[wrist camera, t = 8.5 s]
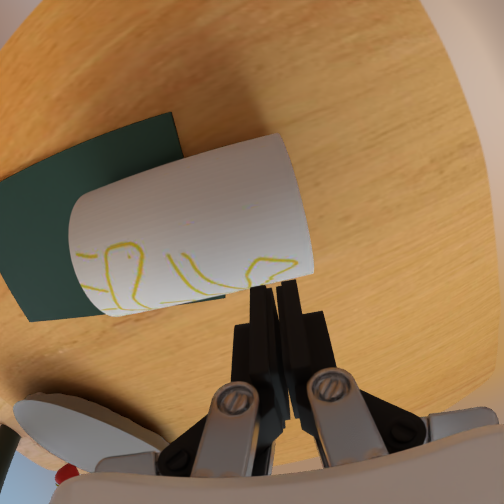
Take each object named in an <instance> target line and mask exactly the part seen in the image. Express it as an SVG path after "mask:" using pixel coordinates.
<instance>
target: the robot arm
mask: <svg viewBox="0 0 504 504" xmlns="http://www.w3.org/2000/svg"><path fill="white" fill-rule="evenodd" d="M281 285H282V286H278V287H276V292H277V302H278V313H279V319H278V314H277V309H276V305H275V300H274V296H273V291H272V288H266V286H265V285H260V286H254V287H250V323H246V324H239V325H235V327H234V340H233V355H232V370H231V382H230V383H228V384H225V385H224V386H222V387H220V388H219V389H218V390H217V391H216V393H215V394H214V396H213V398H212V401H211V405H210V409H209V412H208V414H207V415H206V416H205V417H203V418H202V419H201V420H200V421H199V422H197V423H196V424H195V425H194V426H192V427H191V428H190V429H189V430H187V431H186V432H185V433H184V434H182V435H181V436H180V437H178V438H177V439H176V440H175V441H173V442H172V443H171V444H169V445H168V446H167V447H166V448H165V449H164V450H163V451H162V452H155V451H154V450H153V451H147V452H140V453H134V454H126V455H118V456H109V457H106V458H103V459H102V460H100V461H99V462H98V464H97V465H96V467H95V471H94V473H87V474H82V475H78V476H75V477H72V478H69V479H67V480H65V481H64V482H62V483H61V484H60V485H59V486H58V487H57V488H56V490H55V491H54V494H53V495H52V497H51V500H50V503H49V504H504V424H499V421H498V418H497V415H496V413H495V412H494V411H493V410H492V409H490V408H487V407H475V408H469V409H464V410H456V411H449V412H441V413H432V414H429V415H428V416H427V417H418V416H417V415H415V414H413V413H411V412H408V411H406V410H404V409H401V408H399V407H397V406H395V405H392V404H390V403H388V402H386V401H384V400H382V399H379V398H377V397H375V396H373V395H371V394H369V393H366V392H364V391H362V390H360V389H359V388H358V386H357V384H356V382H355V379H354V378H353V376H352V375H351V374H350V373H349V372H347V371H346V370H344V369H341V368H337V367H336V362H335V358H334V354H333V350H332V346H331V342H330V337H329V333H328V329H327V325H326V321H325V318H324V314H323V311H318V312H313V313H307V314H302V310H301V304H300V299H299V294H298V288H297V283H296V279H294V280H289V281H283V282H281ZM288 390H289V395H290V399H291V403H292V407H293V412H294V416H295V419H297V418H300V422H301V427H302V430H304V431H306V432H307V433H309V434H310V435H312V436H314V441H315V444H316V447H317V450H318V454H319V457H320V460H321V463H322V466H323V469H319V470H312V471H304V472H298V473H289V474H279V475H271V473H272V466H273V459H274V452H275V445H276V443H275V439H276V438H277V437H278V436H279V435H280V434H281V433H282V432H283V429H284V428H285V420H290V407H289V395H288Z"/></svg>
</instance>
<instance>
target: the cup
mask: <svg viewBox="0 0 504 504" xmlns="http://www.w3.org/2000/svg"><path fill="white" fill-rule="evenodd" d="M69 249H70V255H71V260H72V264H73V267H74V270H75V273H76V276H77V278H78V280H79V283H80V285H81V287H82V289H83V290H84V292H85V294H86V295H87V297H88V298H89V299H90V301H91V302H92V303H93V304H94V305H95V306H96V307H97V308H98V309H99V310H100V311H102V312H103V313H105V314H107V315H109V316H113V317H119V316H124V315H129V314H134V313H139V312H144V311H149V310H154V309H159V308H164V307H169V306H173V305H178V304H183V303H188V302H192V301H197V300H201V299H206V298H210V297H215V296H219V295H224V294H228V293H233V292H237V291H242V290H246V289H250V287H254V286H260V285H267V284H272V283H276V282H280V281H284V280H288V279H292V278H296V277H301V276H305V275H309V274H313V273H314V262H313V254H312V247H311V241H310V236H309V230H308V225H307V221H306V216H305V212H304V208H303V203H302V199H301V196H300V192H299V188H298V184H297V181H296V177H295V174H294V171H293V167H292V164H291V161H290V158H289V155H288V153H287V150H286V147H285V145H284V142H283V140H282V138H281V136H280V134H279V133H275V134H271V135H267V136H263V137H259V138H255V139H251V140H247V141H243V142H239V143H235V144H232V145H228V146H224V147H221V148H217V149H214V150H210V151H207V152H203V153H200V154H197V155H193V156H190V157H187V158H183V159H180V160H177V161H174V162H171V163H168V164H165V165H162V166H159V167H156V168H153V169H150V170H147V171H144V172H141V173H138V174H135V175H133V176H130V177H127V178H124V179H122V180H119V181H116V182H114V183H111V184H108V185H106V186H103V187H101V188H98V189H96V190H93V191H91V192H88V193H86V194H84V195H82V196H81V197H80V198H79V199H78V200H77V202H76V203H75V205H74V207H73V210H72V213H71V216H70V221H69Z"/></svg>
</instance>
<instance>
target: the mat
mask: <svg viewBox="0 0 504 504" xmlns="http://www.w3.org/2000/svg"><path fill="white" fill-rule="evenodd" d="M183 158H184V156H183V153H182V149H181V146H180V142H179V138H178V135H177V131H176V127H175V123H174V120H173V116H172V112H168V113H165V114H162V115H158V116H155V117H152V118H149V119H146V120H143V121H140V122H137V123H134V124H131V125H128V126H125V127H122V128H119V129H117V130H114V131H111V132H108V133H106V134H103V135H101V136H98V137H95V138H93V139H90V140H88V141H85V142H83V143H80V144H78V145H76V146H73V147H71V148H69V149H66V150H64V151H62V152H60V153H57V154H55V155H53V156H51V157H49V158H46V159H44V160H42V161H40V162H38V163H36V164H34V165H32V166H30V167H28V168H26V169H24V170H22V171H20V172H18V173H16V174H14V175H12V176H10V177H8V178H7V179H5V180H3V181H1V182H0V273H1V275H2V277H3V279H4V280H5V282H6V284H7V286H8V288H9V289H10V291H11V293H12V294H13V296H14V298H15V300H16V301H17V303H18V304H19V306H20V308H21V309H22V311H23V312H24V314H25V316H26V317H27V319H28V320H29V322H36V321H47V320H58V319H67V318H77V317H86V316H95V315H104V314H105V313H103V312H102V311H100V310H99V309H98V308H97V307H96V306H95V305H94V304H93V303H92V302H91V301H90V299H89V298H88V297H87V295H86V294H85V292H84V290H83V289H82V287H81V285H80V283H79V280H78V278H77V276H76V273H75V270H74V267H73V264H72V260H71V255H70V249H69V221H70V216H71V213H72V210H73V207H74V205H75V203H76V202H77V200H78V199H79V198H80V197H81V196H82V195H84V194H86V193H88V192H91V191H93V190H96V189H98V188H101V187H103V186H106V185H108V184H111V183H114V182H116V181H119V180H122V179H124V178H127V177H130V176H133V175H135V174H138V173H141V172H144V171H147V170H150V169H153V168H156V167H159V166H162V165H165V164H168V163H171V162H174V161H177V160H180V159H183ZM222 298H225V294H224V295H219V296H215V297H210V298H206V299H201V300H197V301H192V302H188V303H183V304H189V303H196V302H202V301H209V300H216V299H222ZM178 305H182V304H178ZM173 306H174V305H173Z"/></svg>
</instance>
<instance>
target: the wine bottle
mask: <svg viewBox="0 0 504 504" xmlns="http://www.w3.org/2000/svg"><path fill="white" fill-rule="evenodd" d="M20 439H21V437H20V436H19V435H18V434H17V433H16V432H15V431H14V430H12V429H11V428H9V427H7V426H5V425H1V426H0V493H1V489H2V486H3V484H4V480H5V478H6V475H7V472H8V469H9V467H10V464H11V461H12V459H13V456H14V453H15V451H16V448H17V446H18V443H19V441H20Z"/></svg>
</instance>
